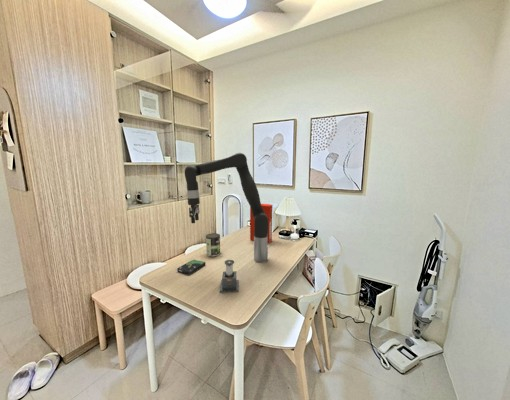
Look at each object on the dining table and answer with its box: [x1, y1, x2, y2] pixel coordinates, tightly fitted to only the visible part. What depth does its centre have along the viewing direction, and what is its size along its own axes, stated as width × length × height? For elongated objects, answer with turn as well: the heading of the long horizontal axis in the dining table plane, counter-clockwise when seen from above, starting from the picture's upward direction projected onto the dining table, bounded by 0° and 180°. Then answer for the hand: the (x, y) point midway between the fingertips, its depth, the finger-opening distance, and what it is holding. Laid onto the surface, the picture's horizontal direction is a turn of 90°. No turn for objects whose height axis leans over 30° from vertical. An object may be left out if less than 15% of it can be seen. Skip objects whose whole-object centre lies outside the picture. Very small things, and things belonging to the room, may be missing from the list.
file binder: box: [249, 203, 273, 244], centre depth 182 cm, size 8×17×32 cm, turn 67°
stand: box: [219, 270, 240, 294], centre depth 114 cm, size 10×10×7 cm
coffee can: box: [205, 232, 221, 257], centre depth 156 cm, size 10×10×14 cm
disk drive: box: [176, 259, 206, 277], centre depth 134 cm, size 10×3×15 cm
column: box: [224, 259, 235, 277], centre depth 113 cm, size 5×5×13 cm
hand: (195, 221), depth 138 cm, fingers open, 8 cm apart
